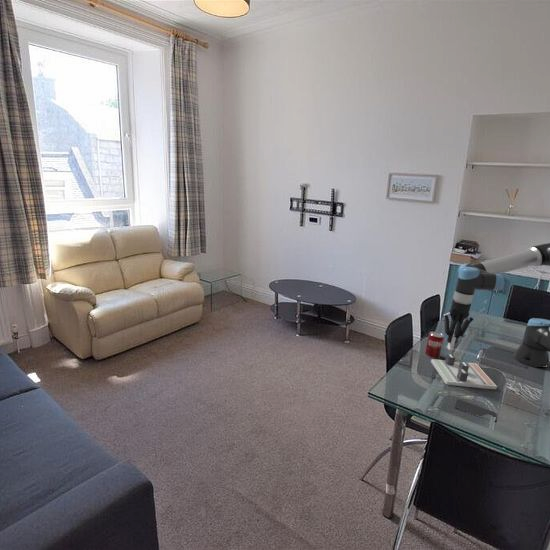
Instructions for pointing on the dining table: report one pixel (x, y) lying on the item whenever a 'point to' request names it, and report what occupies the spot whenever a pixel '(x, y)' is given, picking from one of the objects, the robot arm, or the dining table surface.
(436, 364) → the panel
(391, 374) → the dining table surface
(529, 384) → the dining table surface
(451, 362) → the block
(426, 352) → the soda can
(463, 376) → the block
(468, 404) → the smartphone
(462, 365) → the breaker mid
